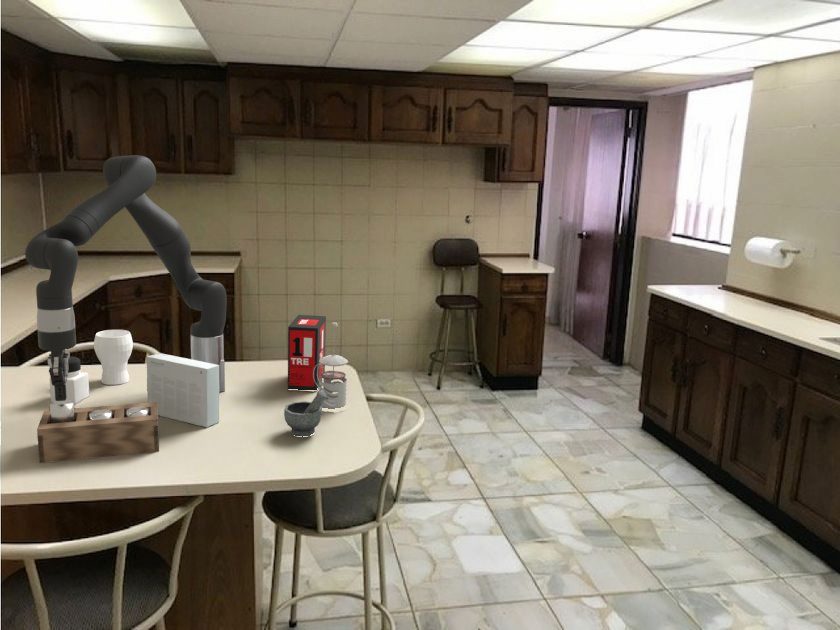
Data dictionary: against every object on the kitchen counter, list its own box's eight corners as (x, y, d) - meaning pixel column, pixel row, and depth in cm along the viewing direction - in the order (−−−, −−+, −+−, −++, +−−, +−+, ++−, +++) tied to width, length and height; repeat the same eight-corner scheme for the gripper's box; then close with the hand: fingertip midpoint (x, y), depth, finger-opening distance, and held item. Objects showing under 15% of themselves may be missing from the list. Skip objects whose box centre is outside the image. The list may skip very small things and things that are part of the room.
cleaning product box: (297, 373, 224) (298, 314, 220) (324, 375, 224) (325, 316, 220) (287, 390, 208) (288, 326, 204) (316, 391, 208) (317, 328, 204)
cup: (109, 374, 214) (106, 328, 211) (141, 377, 213) (139, 330, 209) (88, 384, 204) (85, 336, 200) (121, 388, 202) (119, 339, 199)
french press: (334, 415, 190) (337, 328, 184) (303, 405, 196) (304, 321, 190) (356, 405, 198) (359, 322, 192) (325, 397, 204) (327, 315, 198)
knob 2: (148, 425, 168) (148, 405, 167) (148, 432, 163) (148, 412, 162) (127, 427, 166) (126, 407, 165) (127, 434, 162) (126, 414, 161)
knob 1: (75, 419, 161) (74, 399, 160) (73, 426, 157) (72, 406, 156) (52, 421, 159) (51, 400, 158) (50, 428, 155) (48, 408, 154)
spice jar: (113, 428, 165) (112, 408, 164) (112, 435, 160) (111, 415, 159) (91, 430, 163) (90, 410, 162) (89, 437, 159) (88, 417, 158)
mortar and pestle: (277, 437, 173) (277, 392, 171) (292, 424, 182) (293, 381, 180) (319, 443, 171) (320, 397, 168) (332, 429, 180) (333, 386, 177)
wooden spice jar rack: (158, 431, 173) (157, 402, 171) (159, 451, 162) (157, 419, 160) (46, 442, 163) (44, 410, 162) (39, 463, 152) (36, 429, 151)
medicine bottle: (89, 396, 195) (87, 355, 192) (75, 404, 188) (72, 363, 185) (66, 394, 195) (63, 353, 193) (50, 402, 188) (47, 361, 186)
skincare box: (221, 421, 181) (220, 364, 178) (207, 428, 176) (205, 369, 173) (161, 406, 190) (159, 351, 186) (146, 412, 185) (144, 356, 181)
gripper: (72, 333, 148) (76, 408, 152) (77, 319, 160) (81, 389, 164) (33, 334, 146) (38, 411, 149) (41, 320, 158) (46, 391, 161)
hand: (61, 399), depth 157 cm, fingers closed
